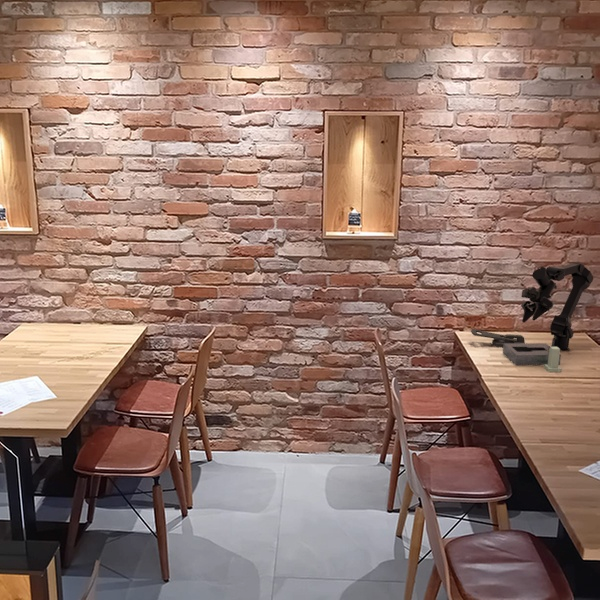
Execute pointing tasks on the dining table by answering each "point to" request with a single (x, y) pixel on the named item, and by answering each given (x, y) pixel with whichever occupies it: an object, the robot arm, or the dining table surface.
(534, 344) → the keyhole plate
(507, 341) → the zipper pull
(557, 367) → the headed peg
